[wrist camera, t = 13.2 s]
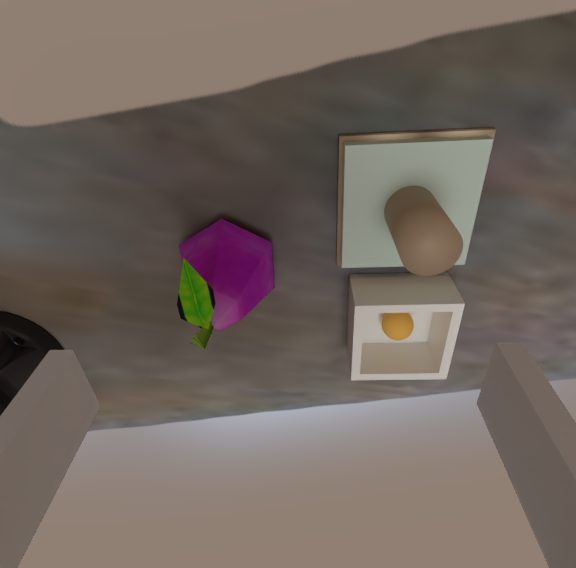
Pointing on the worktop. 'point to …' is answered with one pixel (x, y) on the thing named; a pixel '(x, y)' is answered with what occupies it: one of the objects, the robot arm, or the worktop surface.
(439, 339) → the white open box
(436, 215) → the lid
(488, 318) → the worktop surface
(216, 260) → the magenta low-poly plum
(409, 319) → the orange
